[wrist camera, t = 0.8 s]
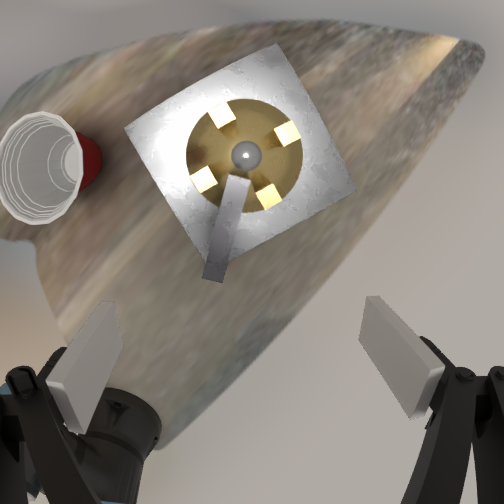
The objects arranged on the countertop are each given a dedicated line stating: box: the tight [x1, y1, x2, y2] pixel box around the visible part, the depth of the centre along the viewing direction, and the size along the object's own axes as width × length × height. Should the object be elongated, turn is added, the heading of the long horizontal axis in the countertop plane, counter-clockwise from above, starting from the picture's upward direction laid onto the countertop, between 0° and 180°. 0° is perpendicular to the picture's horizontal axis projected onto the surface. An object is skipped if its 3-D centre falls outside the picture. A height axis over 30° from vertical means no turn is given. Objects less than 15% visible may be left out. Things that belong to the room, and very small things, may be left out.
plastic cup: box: [0, 111, 102, 225], centre depth 29 cm, size 11×11×12 cm
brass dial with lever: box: [186, 99, 303, 283], centre depth 30 cm, size 18×11×6 cm, turn 164°
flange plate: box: [124, 43, 357, 262], centre depth 34 cm, size 20×20×4 cm
